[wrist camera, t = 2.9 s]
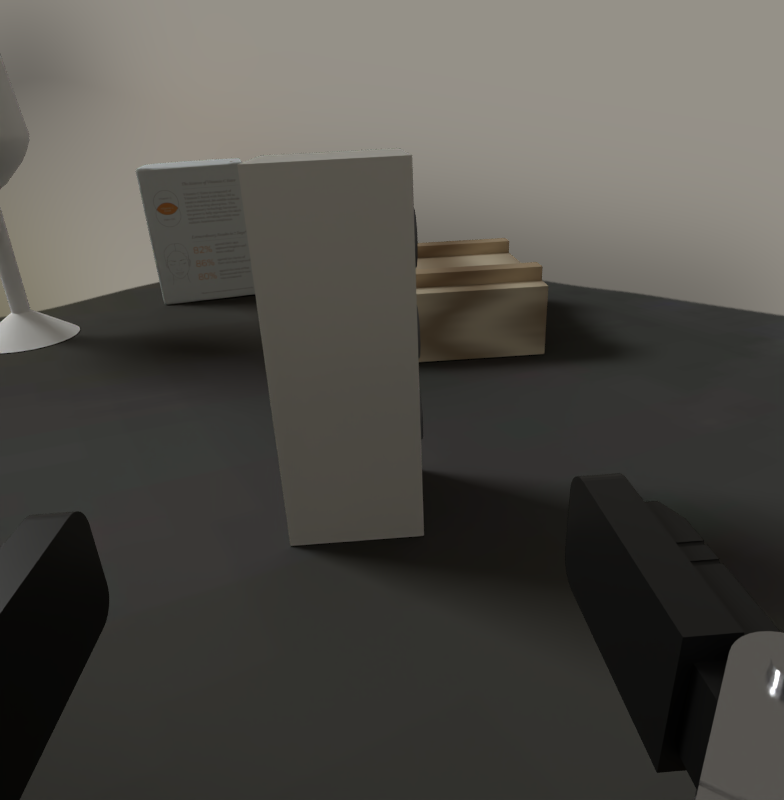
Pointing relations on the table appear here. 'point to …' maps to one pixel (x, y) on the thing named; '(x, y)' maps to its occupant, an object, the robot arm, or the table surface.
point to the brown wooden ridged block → (478, 301)
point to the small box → (197, 229)
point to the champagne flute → (23, 328)
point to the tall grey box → (340, 338)
